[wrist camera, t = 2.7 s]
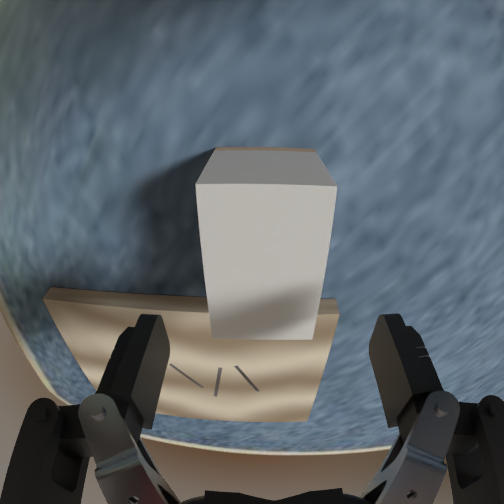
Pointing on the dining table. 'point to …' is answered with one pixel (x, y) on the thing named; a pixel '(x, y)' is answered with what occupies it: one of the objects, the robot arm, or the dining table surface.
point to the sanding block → (264, 240)
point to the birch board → (200, 355)
